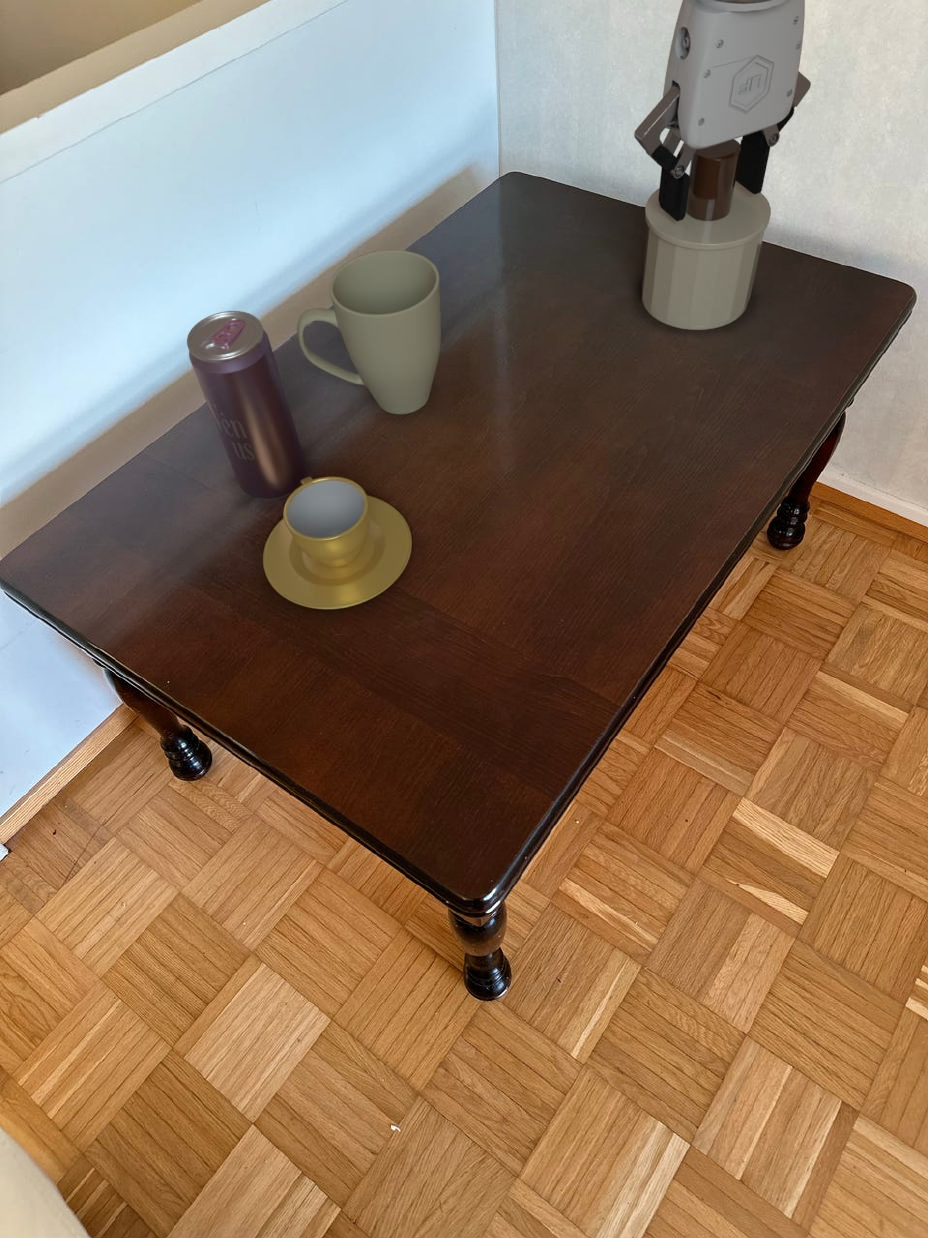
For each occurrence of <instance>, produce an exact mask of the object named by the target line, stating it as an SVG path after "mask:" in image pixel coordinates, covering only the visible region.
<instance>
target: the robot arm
mask: <svg viewBox="0 0 928 1238" xmlns="http://www.w3.org/2000/svg"><path fill="white" fill-rule="evenodd" d="M681 1H682V2H681V5H680V8H679V11H678V15H677V19H676V21H675V22H676V23H675V27H674V31H673V35H672V38H671V39H672V40H671V44H670V49H669V54H668V59H667V65H666V69H665V70H666V71H665V77H664V84H663V91H662V98H661V99H660V100H659V102H658V103H657V104H656V105H655V107H654V108H653V109H652V110H651V111H650V112H649V113H648V115H647V116H646V117H645V118H644V119H643V120H642V121H641V123H640V124H639V125H638V127H636V129H635V130H634V133H633V138H634V139H635V140H636V141H637V143H638V144H639V145H640V146H641V148H642V149H643V150H644V151H645V153H646V155H648V156H649V157H650V158H651V159H652V160H653V162H655V163H656V164H657V165H658V166H660V167H661V169H660V170H661V171H660V179H659V188H658V189H659V197H658V200H659V205H660V207H661V208H662V209H663V210H664V211H665V212H667V213H668V214H669V215H670V216H671V217H672V218H673V219H675V220H676V221H680V220H683V219H684V217H685V215H686V207H687V200H688V192H689V185H690V176H689V174H688V173H687V172H686V171H687V169H688V167H689V165H690V164H691V160H692V158H693V156H694V154H695V152H696V150H697V149H704V148H708V147H711V146H715V145H718V144H721V143H724V142H727V141H730V140H733V139H735V140H736V139H739V138H741V139H740V145H741V153H740V159H739V165H738V170H737V176H736V181H737V182H738V183H739V184H741V185H742V186H743V187H744V188H746V189H747V190H748V191H750V192H751V193H753V194H758V193H760V192H761V193H762V191H763V187H764V183H765V182H764V181H765V178H766V172H767V166H768V162H769V158H770V152H771V148H772V147H774V146H776V145H777V144H778V142H779V141H780V138H781V134H780V133H781V131H782V130H783V129H784V127H785V126H786V124H787V123H788V122H789V121H790V120H791V119H792V117H793V116H794V115H795V108H797V107H798V106H799V104H800V103H801V102H802V100H803V99H804V97H805V96H806V95H807V93H809V92H808V91H810V89H811V87H812V82H811V81H810V80H809V78H807V77H806V76H805V75H804V74H803V73H802V72H800V66H801V65H800V64H801V58H802V57H801V56H802V49H803V42H804V41H803V40H804V32H805V31H804V30H805V17H806V15H805V13H806V0H681ZM665 129H668V131H667V134H666V135H665V138H664V139H663V142H662V140H661V134H662V133H663V132H664V130H665ZM681 141H682V142H683V143H682V145H681V147H680V149H679V150H678V153H677V155H676V156H675V153H676V150H677V149H678V147H679V146H680V145H679V144H680V143H681Z"/></svg>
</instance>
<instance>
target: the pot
mask: <svg viewBox="0 0 928 1238" xmlns="http://www.w3.org/2000/svg"><path fill="white" fill-rule="evenodd" d="M764 235H765V231H764V232H763V233H762V234H761V235H760V236H758V237H757V238H756V239H754V240H752V241H750V242H748V243H746V244H743V245H740V246H737V247H733V248H729V249H722V250H697V249H690V248H685V247H681V246H677V245H674V244H672V243H669V242H667V241H665V240H663V239H662V238H660V237H658V236H657V235H656V234H655V233H654V232H653V231H652V230H651V229H650V228H649V226H648V225H647V232H646V240H645V241H646V242H645V252H644V262H643V271H642V280H641V302H642V304H643V307H644V308H645V310H646V311H647V313H648V314H649V315H651V316H652V317H653V318H654V319H656V320H657V321H659V322H660V323H663V324H665V325H667V326H669V327H673V328H677V329H681V330H688V331H689V330H691V331H706V330H713V329H717V328H721V327H724V326H726V325H729V324H731V323H732V322H734V321H736V320H737V319H738V318H740V317H741V316H742V315H743V314H744V313H745V311H746V309H747V307H748V305H749V301H750V299H751V296H752V290H753V286H754V281H755V276H756V273H757V268H758V263H759V258H760V253H761V249H762V244H763V239H764Z"/></svg>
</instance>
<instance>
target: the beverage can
mask: <svg viewBox="0 0 928 1238" xmlns="http://www.w3.org/2000/svg"><path fill="white" fill-rule="evenodd" d="M186 345H187V349H188V358H189V361H190V364H191V366H192V368H193V371H194V374H195V376H196V378H197V381H198V384H199V387H200V389H201V391H202V394H203V397H204V400H205V402H206V404H207V406H208V407H207V408H208V409H209V412H210V414H211V417H212V419H213V422H214V425H215V428H216V430H217V432H218V435H219V438H220V439H221V440H220V441H221V442H222V445H223V447H224V450H225V452H226V455H227V457H228V460H229V463H230V465H231V468H232V471H233V473H234V476H235V478H236V480H237V483H238V485H239V488H240V489H241V490H242V492H244V493H245V494H247V495H249V496H250V497H251V498H253V499H257V500H261V501H267V502H268V501H269V502H270V501H277V500H281V499H284V498H286V497H287V498H288V497H289V496H290V495H291V494H292V493H293V492H294V491H295V490H296V489H297V488H299V487H300V486H301V483H300V481H301V480H302V479H304V478H306V475H307V472H308V465H307V461H306V458H305V454H304V452H303V448H302V445H301V442H300V439H299V434H298V431H297V428H296V424H295V422H294V421H295V420H294V418H293V414H292V412H291V408H290V405H289V401H288V398H287V395H286V392H285V388H284V384H283V381H282V378H281V374H280V371H279V369H278V368H279V367H278V365H277V361H276V358H275V355H274V351H273V348H272V345H271V342H270V338H269V335H268V333H267V331H266V330H265V329H264V326H263V324H262V322H261V321H260V319H259V318H258V317H256V316H255V315H253V314H252V313H249V312H246V311H241V310H227V311H220V312H217V313H214V314H211V315H208V316H207V317H204V318H203V319H201V320H200V321H198V322H197V323H196V324H195V325H194V326H193V327H192V328H191V329H190V331H189V333H188V334H187V338H186Z"/></svg>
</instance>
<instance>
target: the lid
mask: <svg viewBox="0 0 928 1238" xmlns="http://www.w3.org/2000/svg"><path fill="white" fill-rule="evenodd" d="M740 144H741V142H739V141H738V140H736V139H733V140H730V141H727V142H724V143H721V144H718V145H715V146H711V147H708V148H704V149H697V150H696V152H695V154H694V156H693V158H692V160H691V162H690V164H689V165H690V166H689V174H688V175H689V176H690V185H689V192H688V200H687V207H686V215H685V217H684V219H683V220H680V221H676V220H675V219H673V218H672V217H671V216H670V215H669V214H668V213H667V212H665V211H664V210H663V209H662V208H661V207H660V205H659V200H658V197H659V188H657V189H656V190H655V191H653V193H652V194H651V195H650V196H649V197H648V199H647V201H646V203H645V207H644V219H645V220H644V221H645V222H646V225H647V227H648V226H649V228H650V229H651V230H652V231H653V232H654V233H655V234H656V235H657V236H658V237H660V238H662V239H663V240H665V241H667V242H669V243H672V244H674V245H677V246H681V247H685V248H690V249H697V250H722V249H729V248H733V247H737V246H740V245H743V244H746V243H748V242H750V241H752V240H754V239H756V238H757V237H758V236H760V235H761V234H762V233H763V232H764V233H765V231H766V229H767V228H768V226H769V224H770V219H771V215H772V208H771V205H770V202H769V200H768V199H767V197H766V196H765V195H764V194H763V193H762V191H761V192H760V193H758V194H753V193H751V192H750V191H748V190H747V189H746V188H744V187H743V186H742V185H741V184H739V183H738V182H737V181H736V176H737V170H738V165H739V159H740V153H741V145H740Z"/></svg>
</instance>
